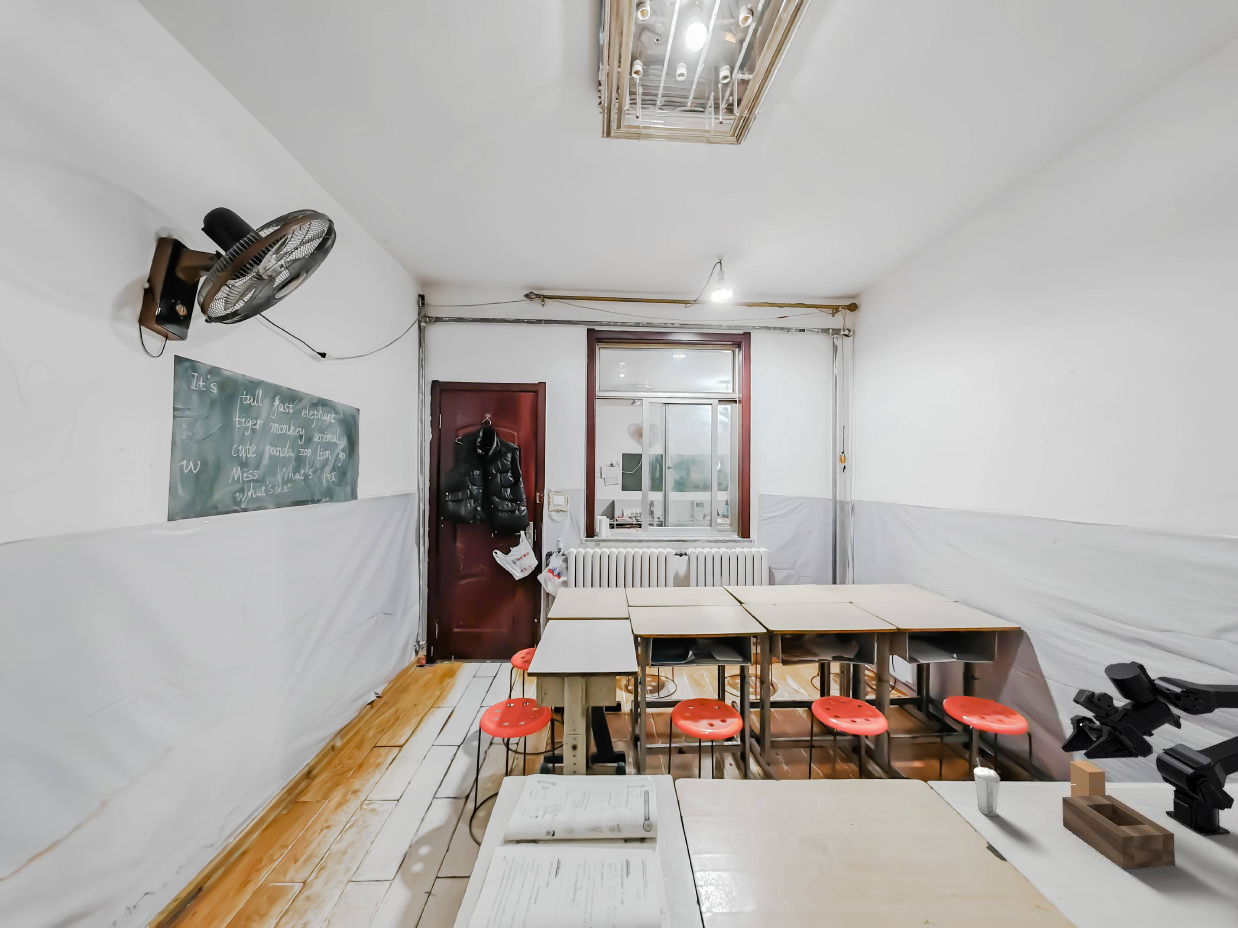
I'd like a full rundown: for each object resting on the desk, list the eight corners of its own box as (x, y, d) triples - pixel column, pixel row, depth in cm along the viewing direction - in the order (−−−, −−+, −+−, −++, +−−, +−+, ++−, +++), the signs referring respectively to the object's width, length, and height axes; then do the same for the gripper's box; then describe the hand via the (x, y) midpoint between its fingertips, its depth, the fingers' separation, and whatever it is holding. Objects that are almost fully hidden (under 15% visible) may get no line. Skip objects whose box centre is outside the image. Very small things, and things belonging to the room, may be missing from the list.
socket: (1110, 822, 100) (1109, 794, 100) (1175, 865, 89) (1174, 833, 89) (1063, 825, 99) (1062, 796, 99) (1122, 868, 88) (1121, 836, 88)
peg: (1086, 795, 109) (1085, 760, 109) (1105, 807, 105) (1104, 771, 105) (1071, 796, 108) (1070, 761, 109) (1089, 808, 104) (1088, 772, 105)
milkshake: (988, 802, 106) (987, 758, 106) (1005, 819, 101) (1004, 772, 101) (967, 801, 106) (966, 756, 107) (983, 818, 101) (982, 771, 101)
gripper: (1080, 680, 113) (1023, 712, 114) (1129, 682, 97) (1062, 719, 98) (1124, 727, 108) (1064, 760, 109) (1184, 737, 92) (1113, 776, 93)
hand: (1073, 752), depth 102 cm, fingers open, 9 cm apart
